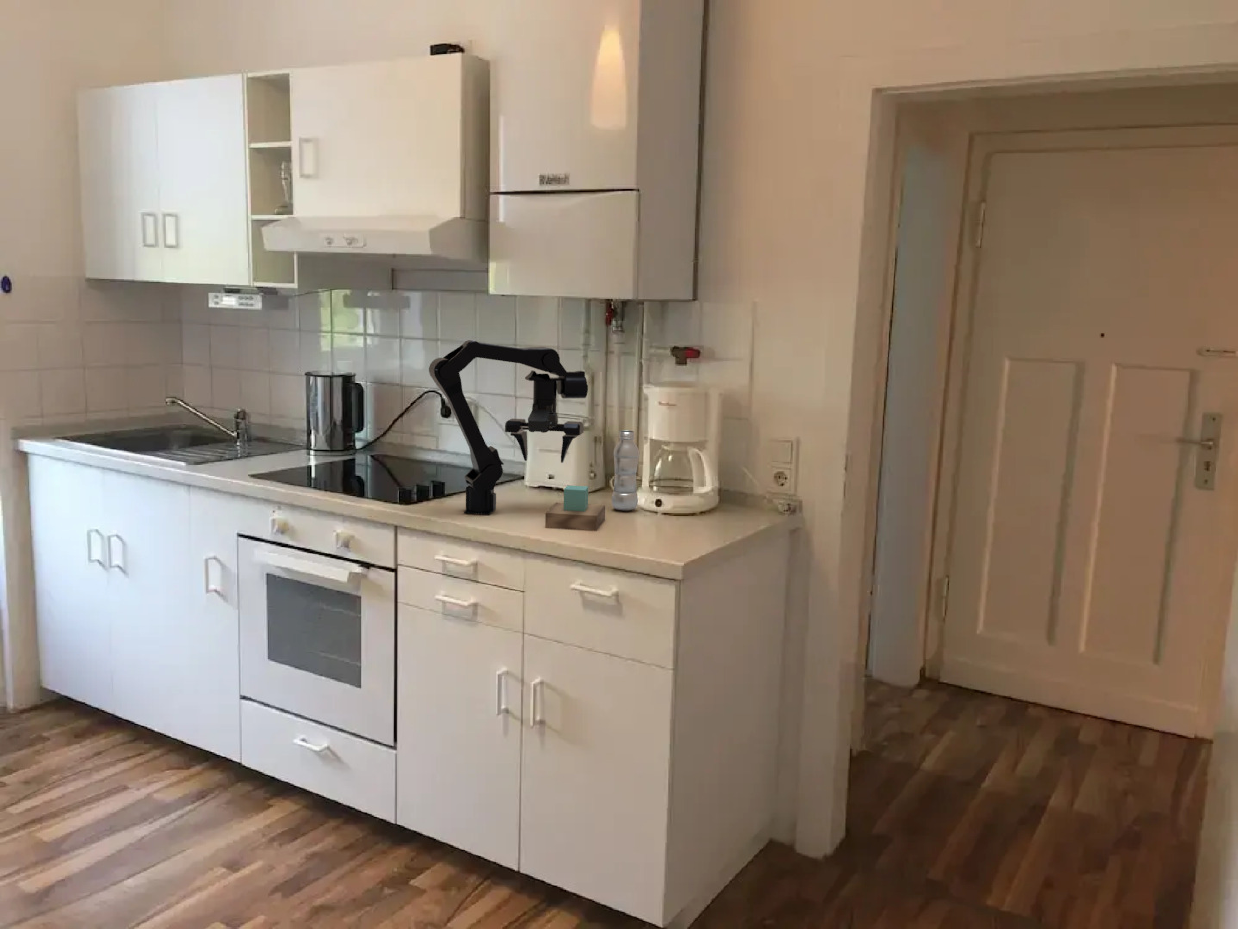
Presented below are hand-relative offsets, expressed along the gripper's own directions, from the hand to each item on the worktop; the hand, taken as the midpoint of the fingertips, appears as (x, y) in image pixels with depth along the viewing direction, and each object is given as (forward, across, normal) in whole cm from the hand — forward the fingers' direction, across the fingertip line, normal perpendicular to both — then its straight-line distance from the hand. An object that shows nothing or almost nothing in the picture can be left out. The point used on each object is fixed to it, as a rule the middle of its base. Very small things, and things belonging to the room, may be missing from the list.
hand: (543, 461), depth 259 cm
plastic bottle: (+12, +20, +4) cm, 24 cm away
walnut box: (+12, +11, -14) cm, 22 cm away
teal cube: (+8, +11, -14) cm, 20 cm away
